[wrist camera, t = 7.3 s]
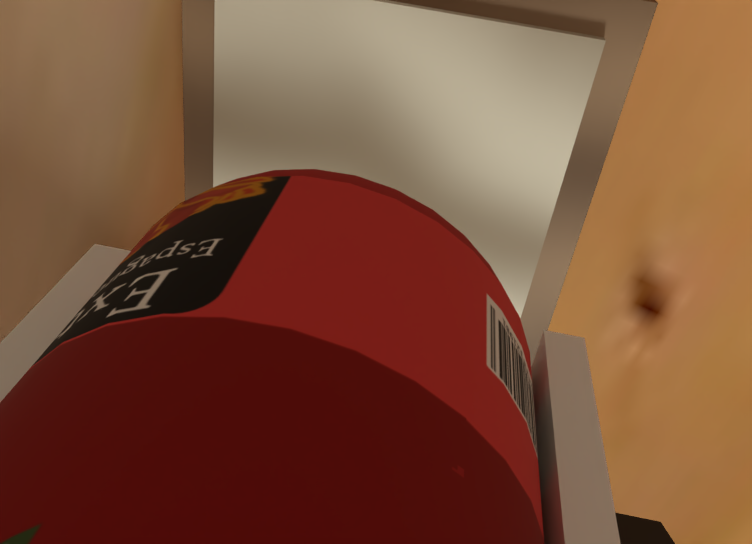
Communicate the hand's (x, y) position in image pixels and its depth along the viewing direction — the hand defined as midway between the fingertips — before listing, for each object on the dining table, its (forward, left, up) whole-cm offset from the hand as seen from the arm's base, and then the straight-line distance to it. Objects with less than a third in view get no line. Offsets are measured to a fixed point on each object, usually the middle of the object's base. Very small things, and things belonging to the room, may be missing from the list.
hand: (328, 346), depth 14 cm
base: (0, 0, -13) cm, 13 cm away
